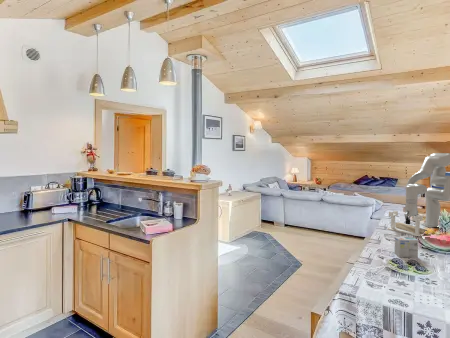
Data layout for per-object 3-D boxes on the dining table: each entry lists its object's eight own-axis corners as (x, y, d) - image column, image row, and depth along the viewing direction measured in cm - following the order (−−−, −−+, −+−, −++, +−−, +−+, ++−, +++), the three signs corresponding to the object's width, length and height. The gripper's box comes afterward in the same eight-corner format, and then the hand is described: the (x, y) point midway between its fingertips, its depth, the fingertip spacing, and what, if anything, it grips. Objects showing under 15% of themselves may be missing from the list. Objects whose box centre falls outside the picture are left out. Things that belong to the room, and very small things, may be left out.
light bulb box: (412, 253, 178) (412, 236, 177) (418, 257, 171) (419, 240, 170) (393, 253, 179) (394, 236, 178) (399, 257, 172) (399, 239, 172)
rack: (392, 228, 234) (392, 210, 233) (423, 235, 214) (424, 216, 213) (386, 229, 230) (387, 211, 229) (418, 237, 210) (418, 217, 209)
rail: (399, 227, 238) (399, 222, 238) (427, 235, 215) (427, 230, 215) (395, 227, 237) (395, 222, 237) (423, 235, 214) (423, 230, 214)
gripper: (412, 199, 232) (412, 220, 234) (400, 202, 224) (400, 224, 225) (422, 200, 226) (422, 222, 227) (410, 203, 217) (410, 226, 219)
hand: (411, 223), depth 226 cm, fingers open, 9 cm apart
